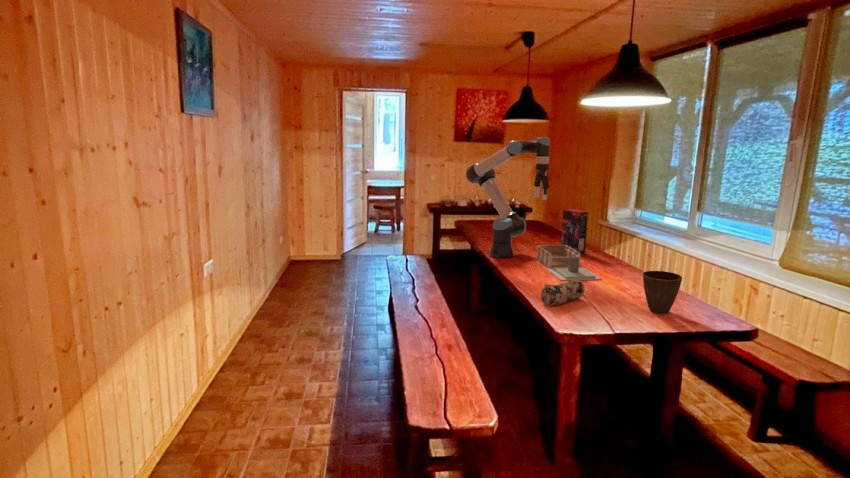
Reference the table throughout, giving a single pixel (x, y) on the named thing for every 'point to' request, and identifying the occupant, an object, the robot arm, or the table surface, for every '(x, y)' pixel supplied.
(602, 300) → the table surface
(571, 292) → the pencil case
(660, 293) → the plant pot
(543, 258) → the wooden box
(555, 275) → the grey tray
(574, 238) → the graphics card box
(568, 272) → the sliding lid
